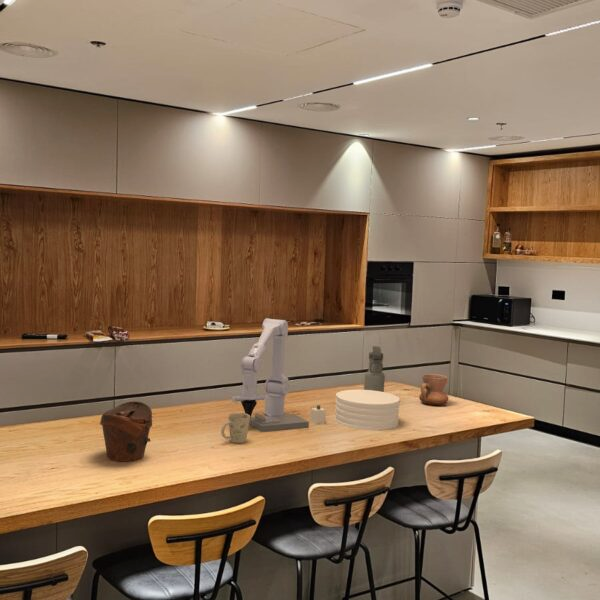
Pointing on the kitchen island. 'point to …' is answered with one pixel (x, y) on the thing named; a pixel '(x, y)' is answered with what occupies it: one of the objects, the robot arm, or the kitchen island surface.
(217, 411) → the kitchen island surface
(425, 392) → the ceramic jug
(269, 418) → the block
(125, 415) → the brown rounded container
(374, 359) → the grey stone figurine
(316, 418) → the plug
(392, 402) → the plate stack
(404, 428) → the kitchen island surface
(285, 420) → the socket
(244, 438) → the mug
